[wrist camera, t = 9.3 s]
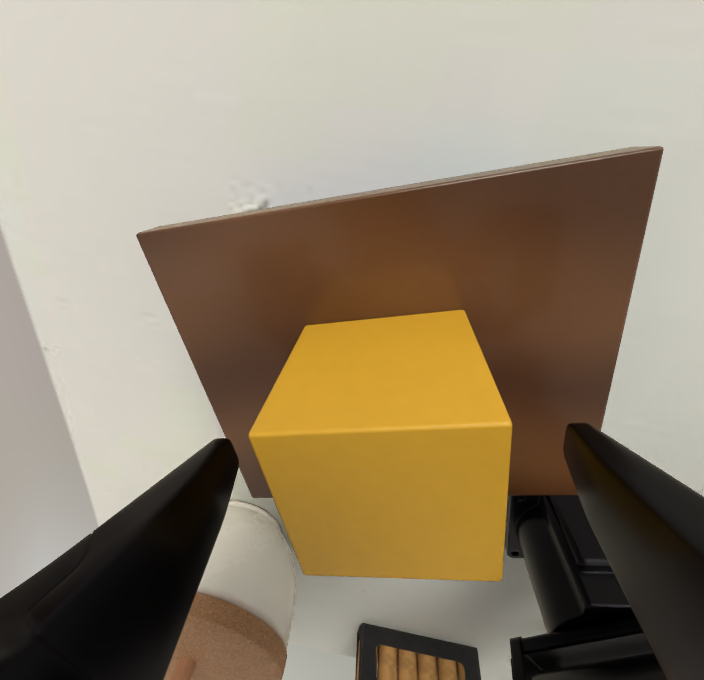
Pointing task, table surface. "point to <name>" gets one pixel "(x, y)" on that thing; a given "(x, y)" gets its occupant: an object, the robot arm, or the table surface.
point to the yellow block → (389, 450)
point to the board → (426, 288)
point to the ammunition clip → (412, 657)
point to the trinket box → (240, 604)
